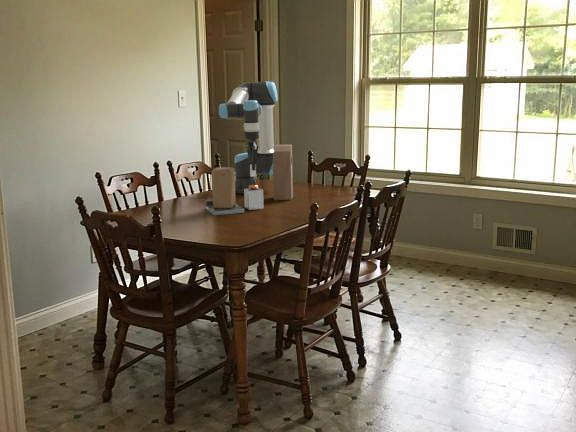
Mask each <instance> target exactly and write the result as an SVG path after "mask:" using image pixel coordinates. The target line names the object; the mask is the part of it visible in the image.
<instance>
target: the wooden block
mask: <svg viewBox="0 0 576 432" xmlns="http://www.w3.org/2000/svg"><path fill="white" fill-rule="evenodd" d="M211 189H212V191H211V192H212V200H213V207H214V208H232V207H233V206H234V205H235V204H237V203H236V193H235V167H215V168H213V169H212V170H211Z"/></svg>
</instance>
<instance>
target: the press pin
mask: <svg viewBox="0 0 576 432" xmlns="http://www.w3.org/2000/svg"><path fill="white" fill-rule="evenodd" d="M258 187H259V185H258V184H257V185H249V188H251V190H256V188H258Z"/></svg>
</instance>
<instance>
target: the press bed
mask: <svg viewBox="0 0 576 432" xmlns="http://www.w3.org/2000/svg"><path fill="white" fill-rule="evenodd" d="M204 202H205V210H206V211H207V212H209V213H210V214H211V215H212V216H223V215H231V214H233V215H234V214H244V213H245V207H242V206H241V205H239V204H238V203H236V204H235V205H234V206H233V207H232V208H214V207H213V199H211V200H210V199H209V200H208V199H207V200H204Z"/></svg>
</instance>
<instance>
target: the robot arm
mask: <svg viewBox="0 0 576 432" xmlns="http://www.w3.org/2000/svg"><path fill="white" fill-rule="evenodd" d="M278 99H279V98H278V90H277V87H276V84H275V82H274V81H247V82H243V83H241V84H239V85H238V86H236V87H235V88H234V89H233V91H232V94H231V97H230V98H229V99H228V101H227V102H226V103H221V104H219V106H218V115H219V117H220V118H221V119H243V125H242V127H243V129H244V139H246V140H247V143H246V144H245V145H246V149H247V151H246V152H244V153H238V154H236V155H235V156H234V162H233V163H234V175H235V194H244V189H246V188H249V185H258V184H257V181H256V179H255V177H257V175H273V150H274V145H275V141H274V140H275V139H274V138H275V136H274V113H273V112H274V111H273V109H274V107H275V106H276V103H277V102H278V101H279V100H278ZM257 140H259V141H258V144H257Z"/></svg>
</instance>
